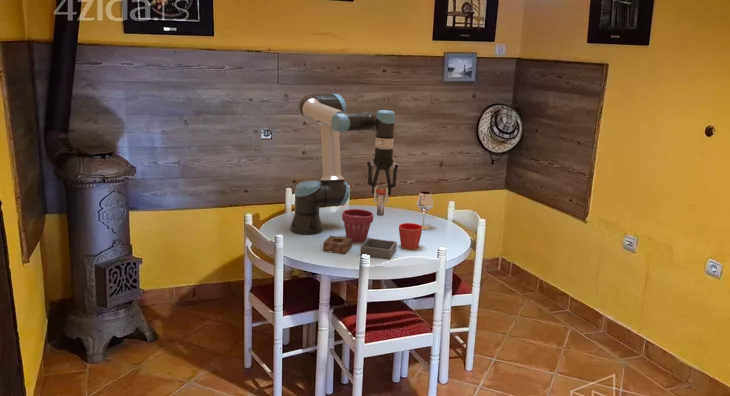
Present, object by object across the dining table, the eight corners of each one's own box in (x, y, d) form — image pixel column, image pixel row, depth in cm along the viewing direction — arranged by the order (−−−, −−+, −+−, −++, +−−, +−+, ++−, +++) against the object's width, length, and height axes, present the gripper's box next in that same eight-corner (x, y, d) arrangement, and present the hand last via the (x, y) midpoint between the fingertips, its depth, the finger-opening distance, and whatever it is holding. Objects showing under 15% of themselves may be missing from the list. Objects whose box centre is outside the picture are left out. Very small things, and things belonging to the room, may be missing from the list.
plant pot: (376, 237, 285) (377, 211, 282) (365, 245, 273) (366, 218, 270) (348, 232, 291) (349, 207, 288) (336, 240, 278) (337, 213, 275)
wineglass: (430, 230, 301) (433, 195, 297) (413, 228, 303) (416, 193, 298) (431, 226, 309) (434, 191, 305) (415, 224, 310) (418, 190, 306)
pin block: (323, 250, 263) (323, 242, 262) (330, 244, 272) (330, 235, 271) (345, 253, 261) (345, 245, 260) (351, 247, 270) (352, 238, 269)
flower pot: (392, 245, 275) (393, 225, 273) (408, 241, 282) (409, 221, 280) (410, 252, 268) (411, 231, 265) (426, 247, 275) (427, 226, 273)
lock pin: (374, 215, 258) (375, 190, 256) (376, 213, 263) (377, 188, 260) (384, 216, 257) (385, 191, 255) (386, 214, 262) (387, 189, 259)
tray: (360, 255, 260) (360, 246, 259) (367, 246, 272) (368, 238, 271) (389, 259, 257) (390, 250, 256) (396, 250, 269) (396, 241, 268)
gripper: (361, 147, 252) (359, 201, 257) (402, 150, 248) (399, 206, 253) (366, 144, 259) (363, 198, 264) (406, 148, 255) (402, 202, 260)
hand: (381, 202), depth 259 cm, fingers closed on lock pin, 4 cm apart
